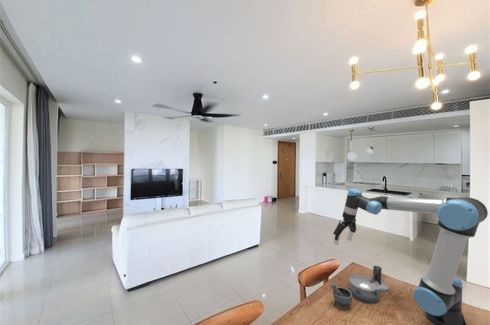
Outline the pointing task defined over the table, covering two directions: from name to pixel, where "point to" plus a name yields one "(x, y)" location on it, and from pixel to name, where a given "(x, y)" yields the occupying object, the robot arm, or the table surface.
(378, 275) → the steel lid
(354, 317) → the table surface
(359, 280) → the cooker pot
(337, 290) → the mortar and pestle
